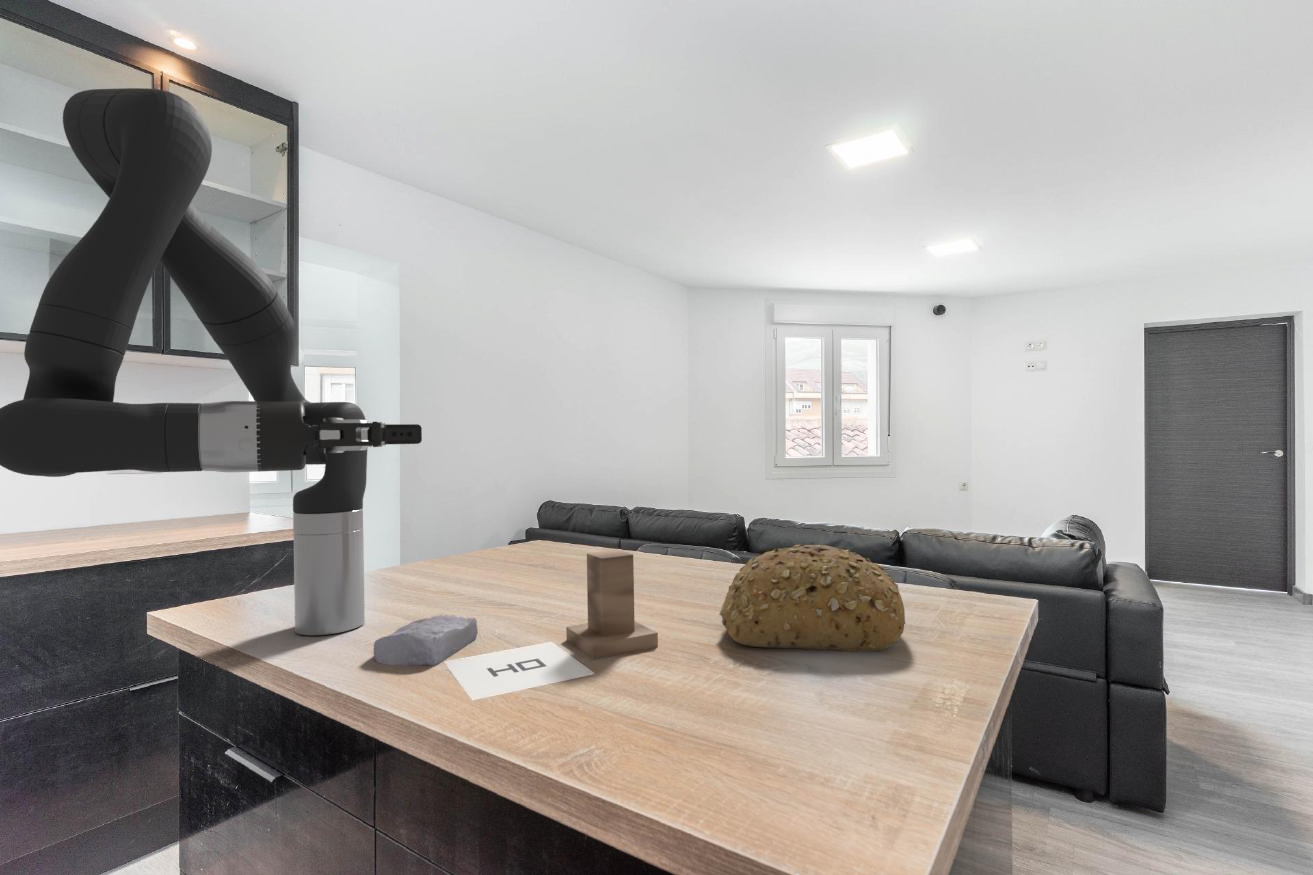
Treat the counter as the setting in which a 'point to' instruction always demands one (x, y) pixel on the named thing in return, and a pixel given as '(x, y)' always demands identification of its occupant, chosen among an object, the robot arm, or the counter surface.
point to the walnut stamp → (610, 609)
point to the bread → (813, 601)
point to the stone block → (426, 641)
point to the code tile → (515, 670)
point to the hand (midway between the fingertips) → (414, 434)
